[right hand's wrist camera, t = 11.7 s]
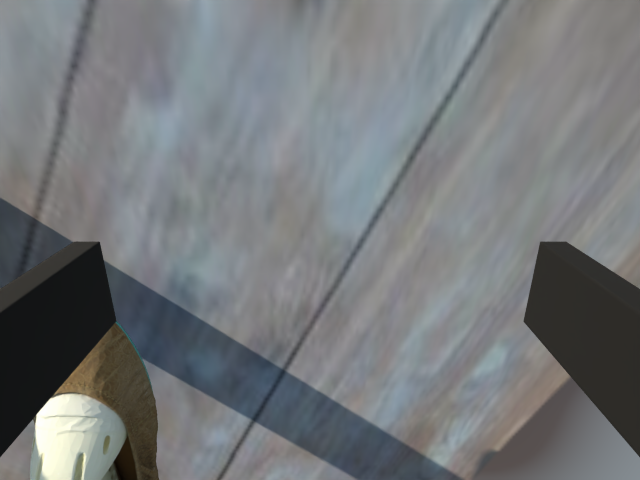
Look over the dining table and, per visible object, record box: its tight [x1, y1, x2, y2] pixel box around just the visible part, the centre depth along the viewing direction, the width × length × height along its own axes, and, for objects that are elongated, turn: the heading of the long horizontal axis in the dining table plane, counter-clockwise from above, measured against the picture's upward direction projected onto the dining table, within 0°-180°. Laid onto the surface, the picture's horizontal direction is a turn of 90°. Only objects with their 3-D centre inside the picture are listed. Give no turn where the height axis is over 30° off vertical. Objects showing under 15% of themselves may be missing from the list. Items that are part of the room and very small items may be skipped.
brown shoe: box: [30, 321, 159, 480], centre depth 31 cm, size 8×24×9 cm, turn 176°
